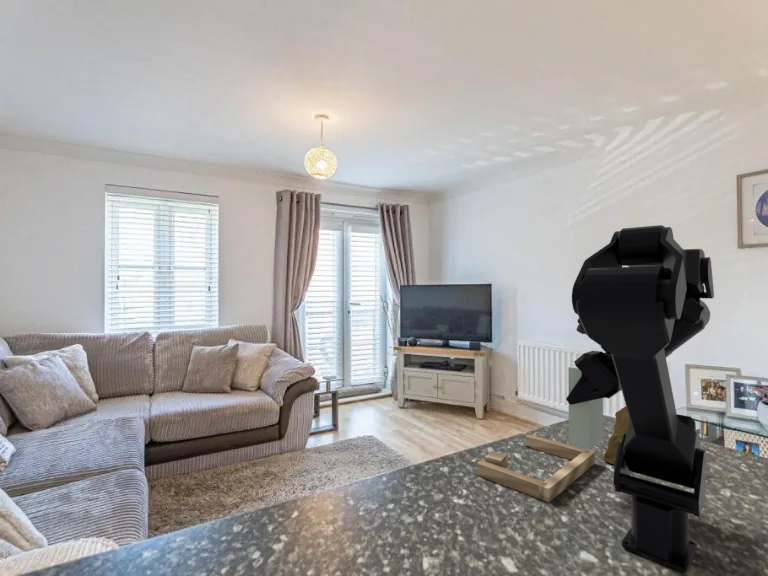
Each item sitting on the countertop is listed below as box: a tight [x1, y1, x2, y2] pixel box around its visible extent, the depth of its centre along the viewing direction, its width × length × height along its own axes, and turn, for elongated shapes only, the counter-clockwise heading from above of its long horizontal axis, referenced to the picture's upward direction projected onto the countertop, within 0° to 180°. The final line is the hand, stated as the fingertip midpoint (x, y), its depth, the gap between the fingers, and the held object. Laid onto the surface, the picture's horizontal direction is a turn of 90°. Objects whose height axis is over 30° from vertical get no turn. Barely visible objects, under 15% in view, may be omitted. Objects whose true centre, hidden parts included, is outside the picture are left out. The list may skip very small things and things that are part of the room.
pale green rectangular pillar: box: [567, 364, 604, 451], centre depth 65 cm, size 6×3×12 cm, turn 134°
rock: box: [602, 405, 630, 466], centre depth 76 cm, size 11×9×10 cm
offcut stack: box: [484, 450, 511, 470], centre depth 71 cm, size 4×3×2 cm
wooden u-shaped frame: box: [476, 433, 596, 503], centre depth 71 cm, size 18×12×2 cm, turn 134°
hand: (576, 397), depth 66 cm, fingers closed on pale green rectangular pillar, 6 cm apart
